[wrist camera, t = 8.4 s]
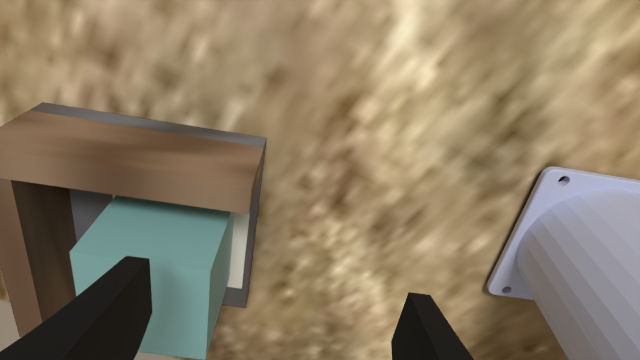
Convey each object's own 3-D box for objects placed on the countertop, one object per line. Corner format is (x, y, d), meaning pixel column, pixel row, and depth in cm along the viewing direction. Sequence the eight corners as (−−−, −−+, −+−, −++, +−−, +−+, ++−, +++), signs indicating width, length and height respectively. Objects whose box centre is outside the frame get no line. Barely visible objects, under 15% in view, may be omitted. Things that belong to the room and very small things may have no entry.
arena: (266, 137, 20) (251, 187, 16) (248, 294, 24) (233, 362, 21) (42, 102, 19) (-32, 145, 15) (70, 271, 24) (19, 336, 20)
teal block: (235, 198, 20) (210, 271, 15) (229, 277, 22) (205, 360, 18) (126, 181, 19) (69, 252, 15) (132, 264, 22) (84, 345, 18)
